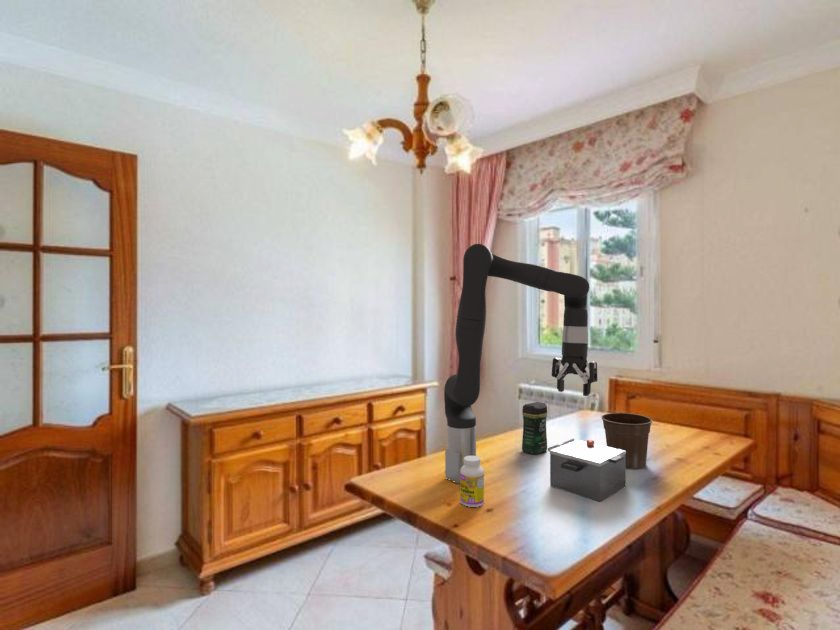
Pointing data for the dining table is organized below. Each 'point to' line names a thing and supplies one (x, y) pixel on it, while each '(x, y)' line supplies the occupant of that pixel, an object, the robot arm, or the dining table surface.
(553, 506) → the dining table surface
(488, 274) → the robot arm
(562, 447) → the grey box lid
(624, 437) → the plant pot
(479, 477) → the supplement bottle
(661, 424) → the dining table surface
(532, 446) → the coffee jar
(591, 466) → the dark grey storage box
